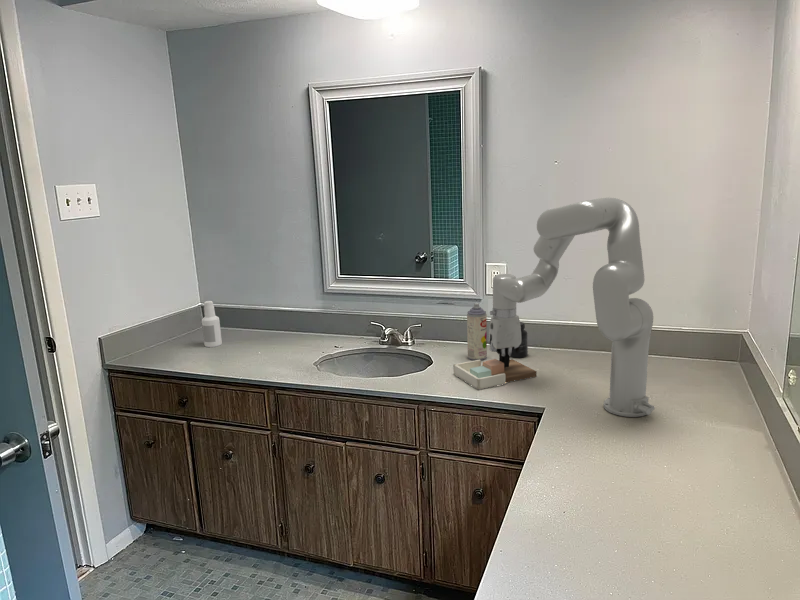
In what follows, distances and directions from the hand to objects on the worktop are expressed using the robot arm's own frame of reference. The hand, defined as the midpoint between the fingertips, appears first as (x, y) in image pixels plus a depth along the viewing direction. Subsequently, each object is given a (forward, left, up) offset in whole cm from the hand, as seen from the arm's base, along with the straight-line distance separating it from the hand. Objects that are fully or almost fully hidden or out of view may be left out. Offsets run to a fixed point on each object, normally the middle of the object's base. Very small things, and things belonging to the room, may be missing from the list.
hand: (504, 366), depth 203 cm
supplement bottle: (+14, -15, -3) cm, 20 cm away
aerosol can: (+19, -1, -3) cm, 19 cm away
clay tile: (0, +4, -1) cm, 4 cm away
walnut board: (0, -2, -3) cm, 3 cm away
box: (0, +10, -3) cm, 10 cm away
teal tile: (0, +9, -2) cm, 10 cm away
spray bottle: (+86, +83, -3) cm, 120 cm away
